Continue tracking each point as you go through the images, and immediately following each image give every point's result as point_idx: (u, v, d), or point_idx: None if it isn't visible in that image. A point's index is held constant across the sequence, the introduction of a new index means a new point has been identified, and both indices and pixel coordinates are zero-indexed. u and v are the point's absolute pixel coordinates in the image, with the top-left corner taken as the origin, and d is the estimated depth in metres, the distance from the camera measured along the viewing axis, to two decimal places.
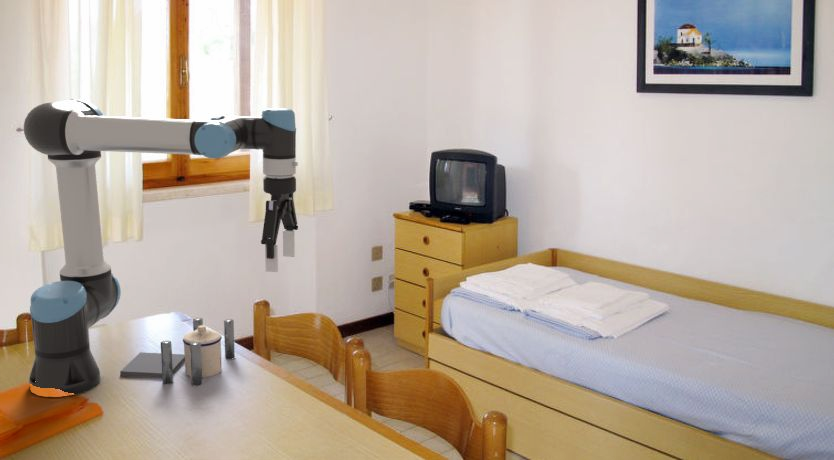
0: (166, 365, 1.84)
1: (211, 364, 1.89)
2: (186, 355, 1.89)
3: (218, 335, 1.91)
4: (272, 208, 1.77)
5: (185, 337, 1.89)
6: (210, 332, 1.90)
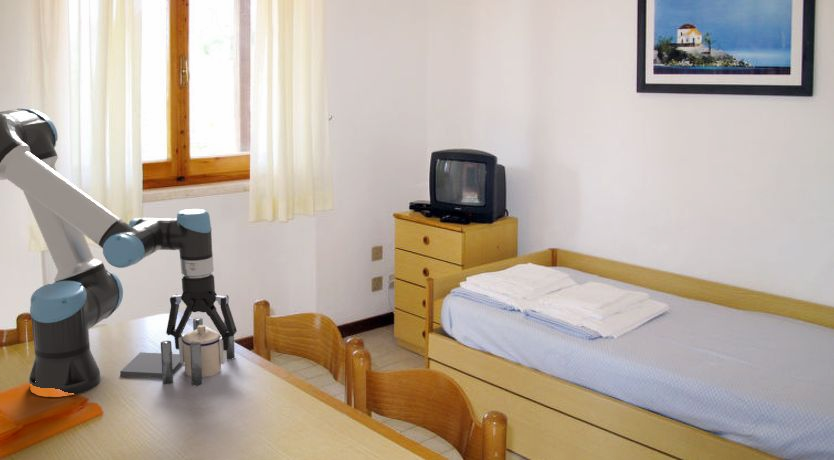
0: (166, 365, 1.84)
1: (211, 364, 1.89)
2: (185, 355, 1.89)
3: (217, 335, 1.91)
4: None
5: (184, 337, 1.89)
6: (209, 332, 1.90)
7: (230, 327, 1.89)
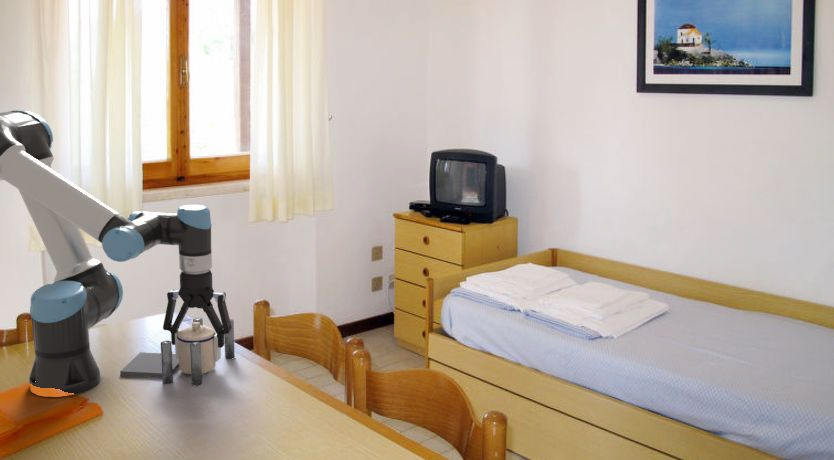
0: (166, 365, 1.84)
1: (205, 360, 1.89)
2: (180, 351, 1.89)
3: (212, 332, 1.91)
4: None
5: (179, 333, 1.89)
6: (204, 329, 1.90)
7: (226, 324, 1.89)
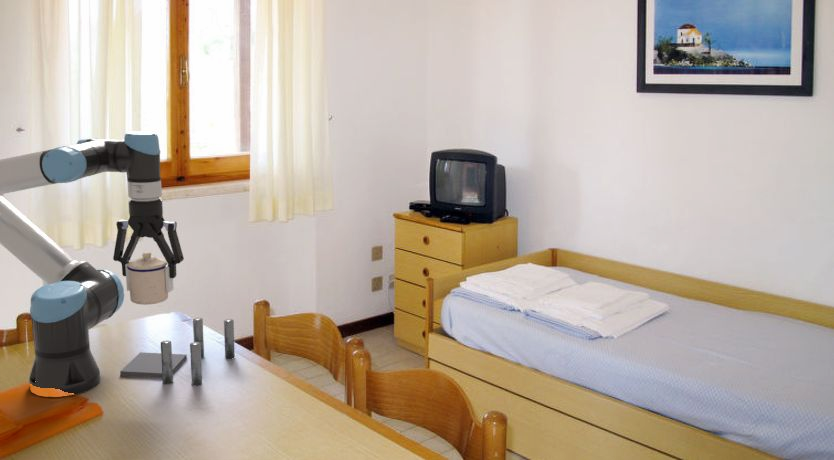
0: (166, 365, 1.84)
1: (156, 290, 1.86)
2: (130, 281, 1.85)
3: (163, 262, 1.88)
4: None
5: (129, 263, 1.86)
6: (155, 258, 1.87)
7: (177, 254, 1.86)
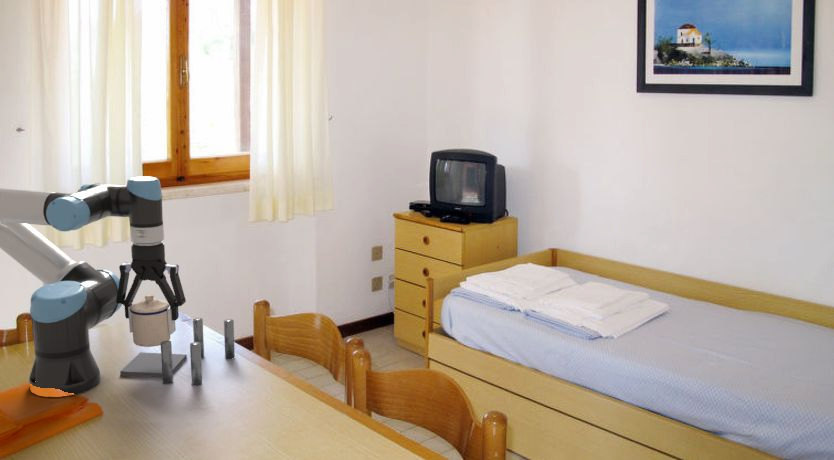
0: (166, 365, 1.84)
1: (159, 333, 1.88)
2: (133, 324, 1.88)
3: (166, 304, 1.90)
4: None
5: (132, 306, 1.88)
6: (157, 301, 1.89)
7: (179, 297, 1.89)
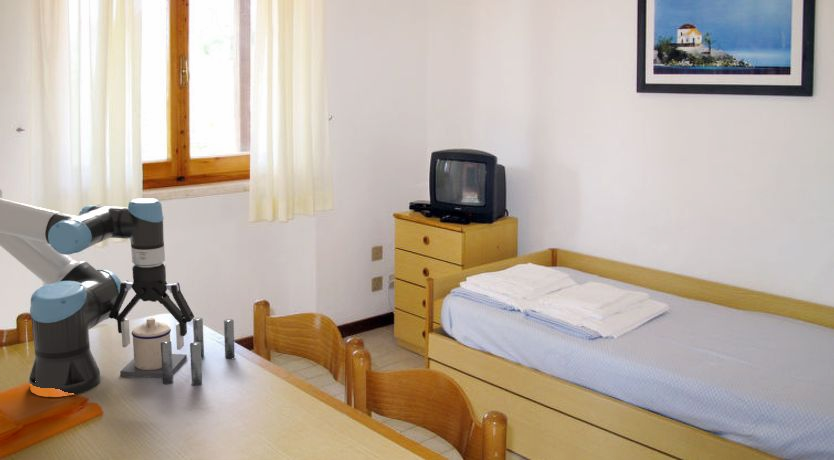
0: (166, 365, 1.84)
1: (160, 356, 1.90)
2: (134, 347, 1.89)
3: (167, 328, 1.91)
4: None
5: (134, 330, 1.90)
6: (159, 325, 1.91)
7: (186, 313, 1.89)
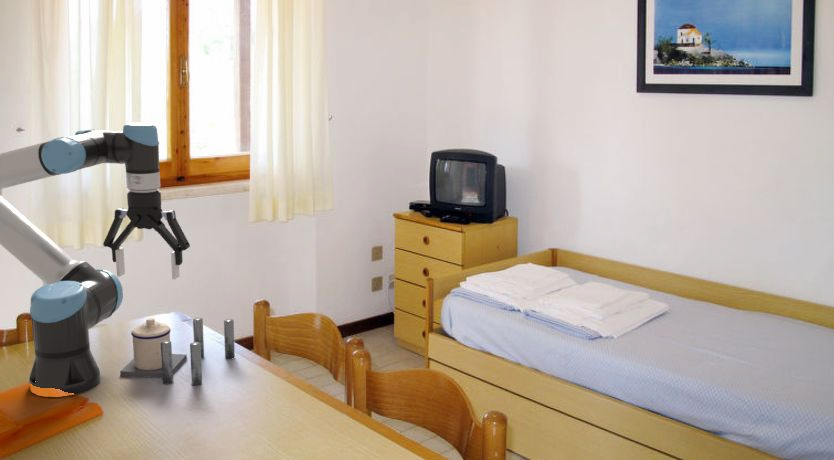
0: (166, 365, 1.84)
1: (159, 356, 1.90)
2: (134, 348, 1.89)
3: (167, 328, 1.91)
4: None
5: (133, 330, 1.90)
6: (159, 325, 1.91)
7: (181, 241, 1.85)
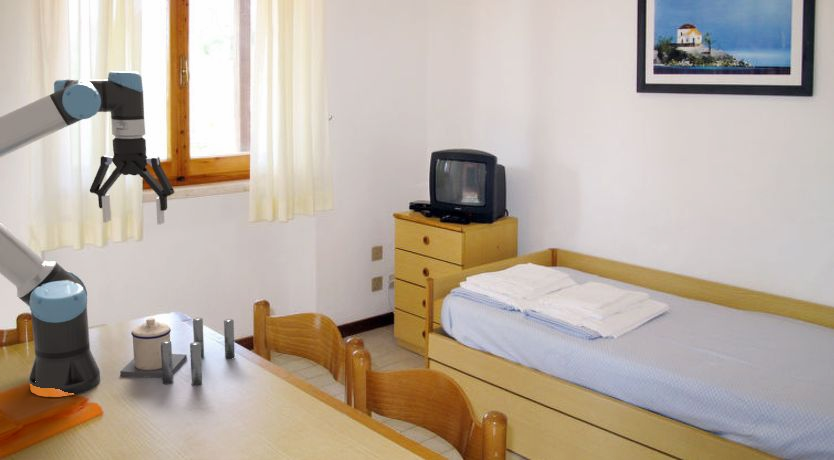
0: (166, 365, 1.84)
1: (160, 356, 1.90)
2: (134, 348, 1.89)
3: (167, 328, 1.91)
4: None
5: (133, 330, 1.90)
6: (159, 325, 1.91)
7: (166, 186, 1.91)
